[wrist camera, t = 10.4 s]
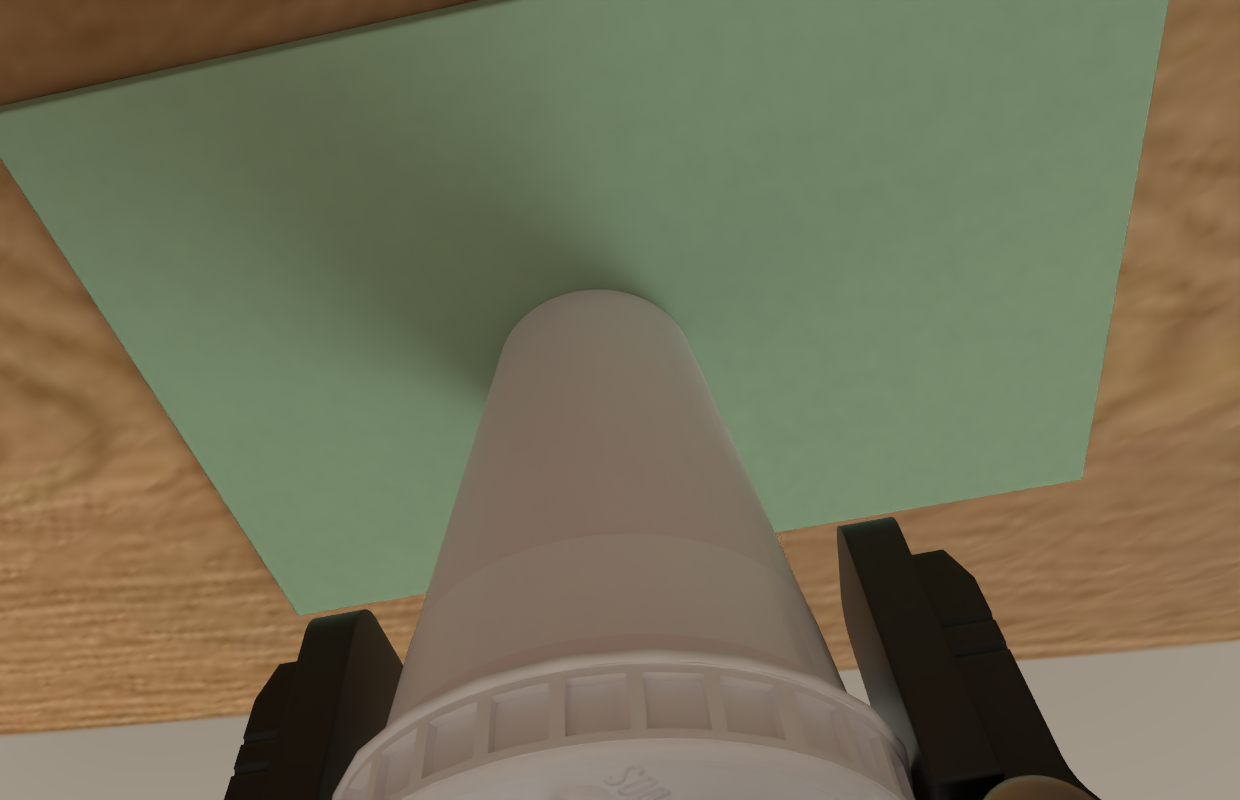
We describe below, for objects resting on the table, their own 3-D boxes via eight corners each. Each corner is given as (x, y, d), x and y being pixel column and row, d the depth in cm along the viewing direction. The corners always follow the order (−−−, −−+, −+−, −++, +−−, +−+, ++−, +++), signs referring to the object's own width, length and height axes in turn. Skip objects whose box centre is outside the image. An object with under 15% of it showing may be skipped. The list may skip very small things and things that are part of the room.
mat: (-11, 107, 14) (-28, 119, 13) (1177, -156, 12) (1198, -152, 12) (302, 599, 21) (297, 616, 21) (1072, 464, 20) (1083, 479, 19)
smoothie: (367, 416, 17) (19, 1696, 6) (539, 147, 14) (479, 1731, 3) (638, 535, 20) (747, 1602, 8) (833, 328, 16) (1413, 1570, 5)
